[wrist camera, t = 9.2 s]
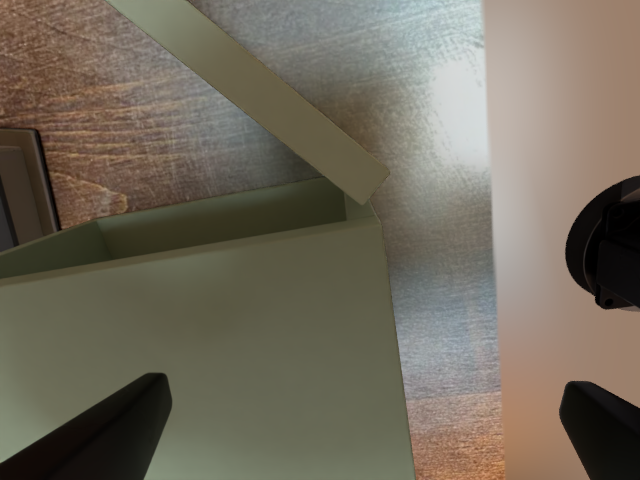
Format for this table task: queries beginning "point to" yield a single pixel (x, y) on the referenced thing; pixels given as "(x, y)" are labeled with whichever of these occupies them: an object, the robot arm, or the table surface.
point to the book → (23, 190)
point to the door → (257, 92)
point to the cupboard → (217, 334)
